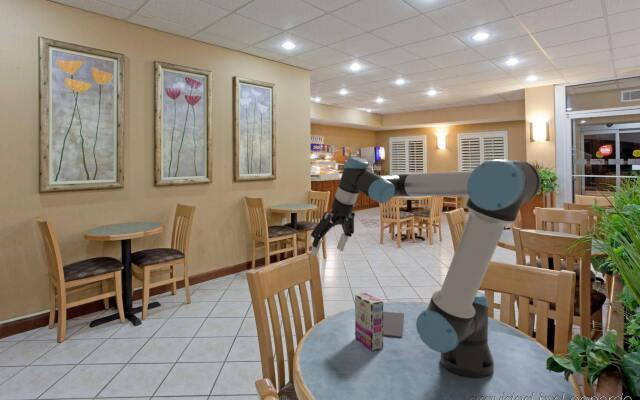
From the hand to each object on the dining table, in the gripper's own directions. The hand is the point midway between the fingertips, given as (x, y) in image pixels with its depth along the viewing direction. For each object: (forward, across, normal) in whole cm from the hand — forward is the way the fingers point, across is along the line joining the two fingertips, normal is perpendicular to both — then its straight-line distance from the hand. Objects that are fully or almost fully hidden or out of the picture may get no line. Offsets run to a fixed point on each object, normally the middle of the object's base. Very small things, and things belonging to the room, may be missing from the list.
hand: (327, 251), depth 133 cm
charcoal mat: (+24, -21, +21) cm, 38 cm away
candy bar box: (+22, -5, +28) cm, 35 cm away
